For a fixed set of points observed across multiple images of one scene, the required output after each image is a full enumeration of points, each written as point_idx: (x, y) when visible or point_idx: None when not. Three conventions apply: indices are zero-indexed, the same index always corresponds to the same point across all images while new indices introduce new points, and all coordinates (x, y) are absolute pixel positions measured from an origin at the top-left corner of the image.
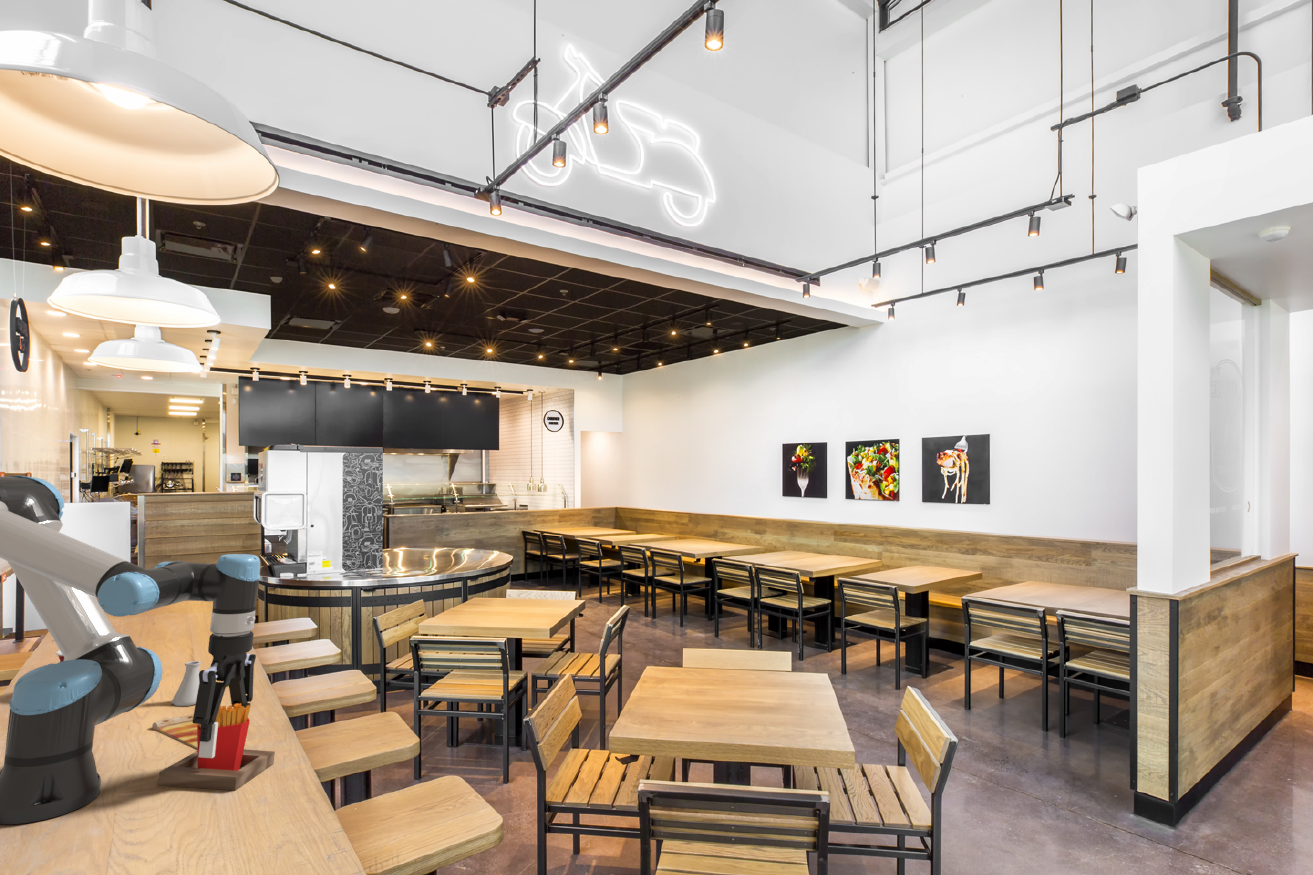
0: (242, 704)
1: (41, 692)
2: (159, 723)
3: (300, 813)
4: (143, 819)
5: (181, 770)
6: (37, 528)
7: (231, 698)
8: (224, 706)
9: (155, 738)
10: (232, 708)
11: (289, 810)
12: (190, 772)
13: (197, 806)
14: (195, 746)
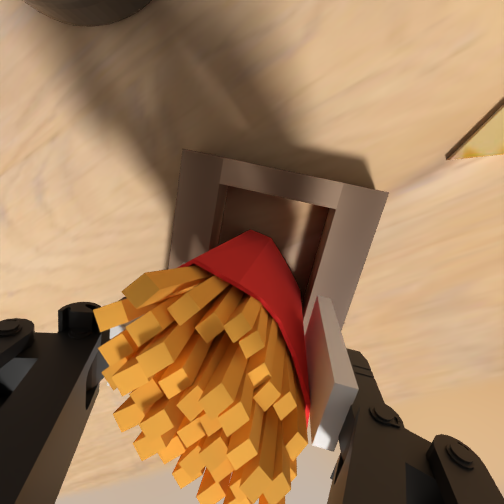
0: (334, 474)
1: None
2: None
3: (94, 457)
4: (41, 214)
5: (192, 210)
6: None
7: (349, 459)
8: (223, 427)
9: None
10: (352, 397)
11: (102, 441)
12: (180, 241)
13: (101, 293)
14: (496, 113)
